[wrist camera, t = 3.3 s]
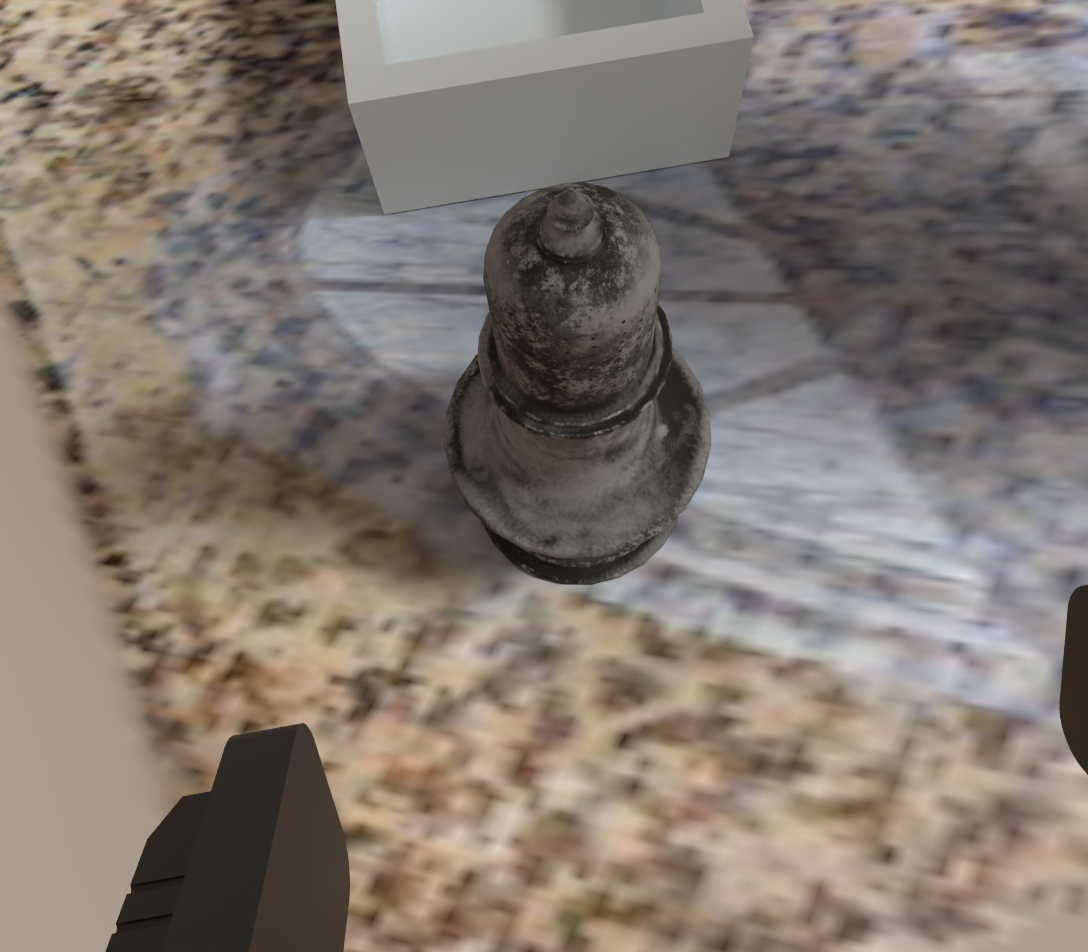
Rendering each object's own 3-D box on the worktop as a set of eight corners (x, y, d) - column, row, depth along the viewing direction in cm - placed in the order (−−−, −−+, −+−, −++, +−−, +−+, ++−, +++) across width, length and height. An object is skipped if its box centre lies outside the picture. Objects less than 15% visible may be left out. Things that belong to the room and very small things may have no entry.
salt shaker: (416, 502, 25) (274, 228, 14) (560, 339, 26) (538, -31, 15) (599, 645, 24) (608, 469, 12) (741, 464, 25) (866, 158, 14)
